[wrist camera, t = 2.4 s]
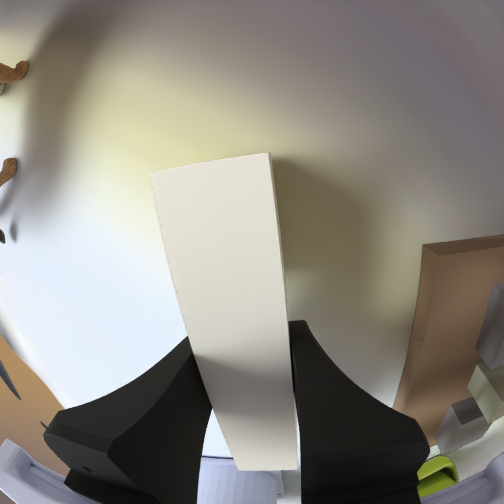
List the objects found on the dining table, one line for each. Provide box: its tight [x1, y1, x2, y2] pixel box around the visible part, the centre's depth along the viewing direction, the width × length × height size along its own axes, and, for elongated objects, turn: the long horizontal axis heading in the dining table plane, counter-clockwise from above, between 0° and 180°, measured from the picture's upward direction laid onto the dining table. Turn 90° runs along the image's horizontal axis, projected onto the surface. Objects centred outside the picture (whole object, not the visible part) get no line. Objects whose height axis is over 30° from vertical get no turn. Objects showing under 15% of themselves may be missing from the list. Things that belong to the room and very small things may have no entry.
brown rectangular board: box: [392, 235, 504, 455], centre depth 11 cm, size 17×12×5 cm
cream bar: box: [149, 153, 298, 471], centre depth 11 cm, size 14×3×4 cm, turn 8°
